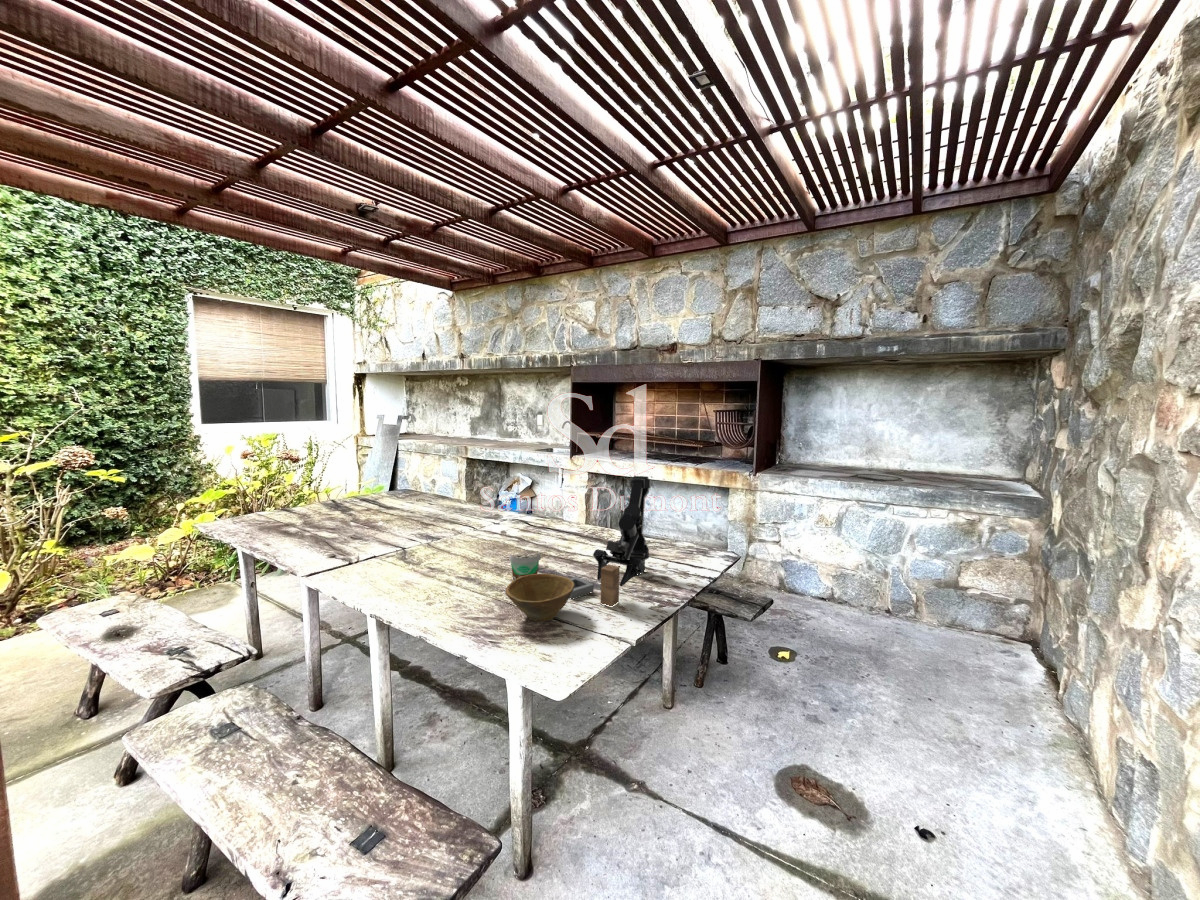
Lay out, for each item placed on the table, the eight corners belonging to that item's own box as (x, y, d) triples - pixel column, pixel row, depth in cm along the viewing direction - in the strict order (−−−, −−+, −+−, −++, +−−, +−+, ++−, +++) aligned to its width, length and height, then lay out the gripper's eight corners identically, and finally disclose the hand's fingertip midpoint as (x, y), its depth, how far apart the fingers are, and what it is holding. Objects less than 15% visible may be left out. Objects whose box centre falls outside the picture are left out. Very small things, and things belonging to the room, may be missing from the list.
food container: (510, 585, 185) (510, 559, 184) (509, 579, 191) (508, 554, 190) (543, 582, 188) (543, 557, 187) (540, 576, 194) (540, 552, 193)
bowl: (492, 614, 161) (491, 585, 159) (547, 595, 176) (547, 568, 175) (532, 639, 145) (532, 606, 144) (589, 615, 161) (589, 585, 160)
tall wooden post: (607, 600, 173) (608, 564, 171) (618, 603, 170) (619, 567, 169) (600, 604, 169) (601, 568, 168) (611, 608, 167) (612, 570, 165)
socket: (576, 584, 187) (576, 576, 186) (593, 592, 179) (593, 584, 179) (555, 590, 180) (555, 583, 180) (571, 599, 173) (571, 591, 172)
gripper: (596, 527, 176) (577, 565, 168) (641, 536, 166) (624, 577, 158) (608, 543, 183) (590, 580, 175) (652, 552, 173) (636, 593, 165)
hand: (609, 582), depth 168 cm, fingers open, 9 cm apart
